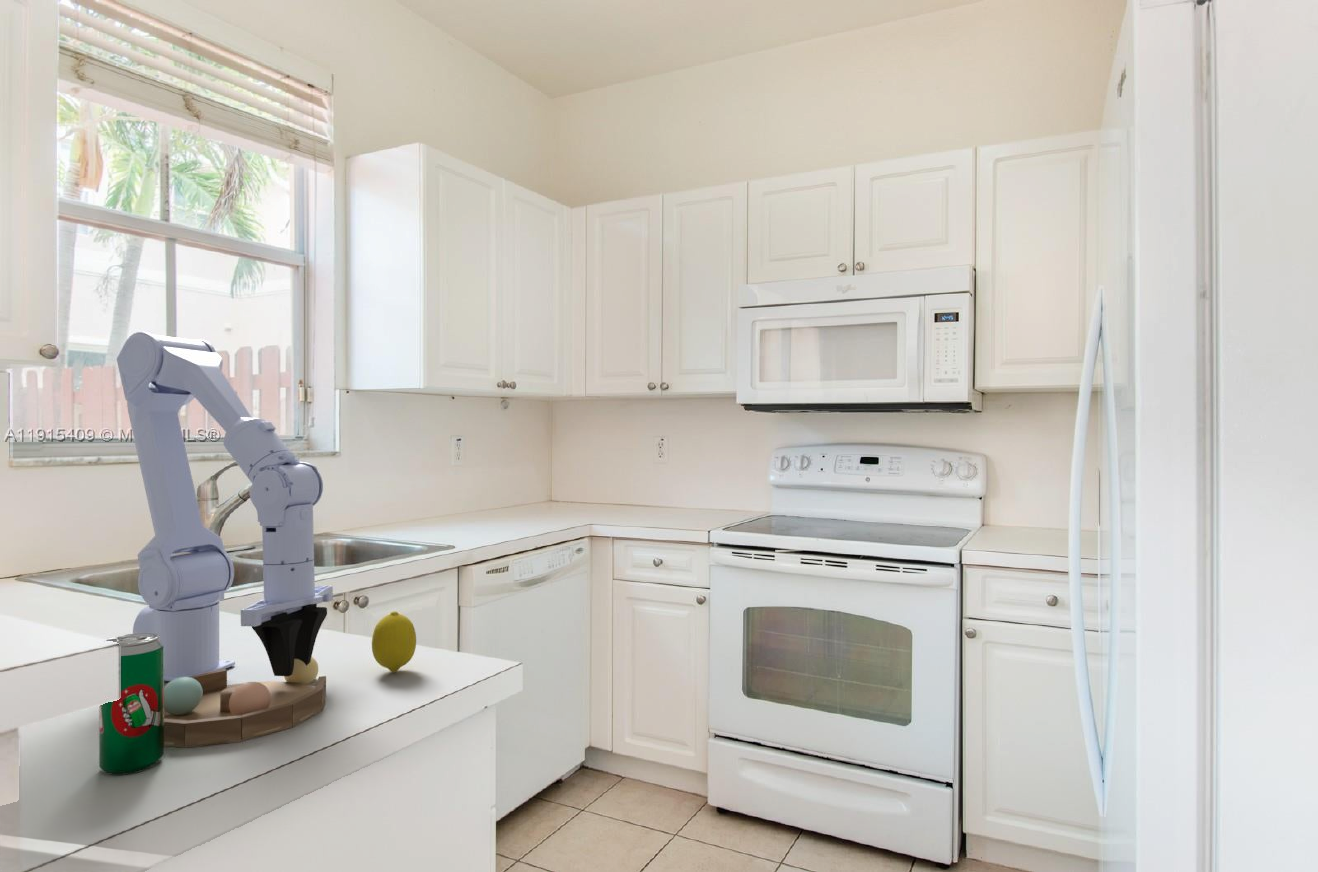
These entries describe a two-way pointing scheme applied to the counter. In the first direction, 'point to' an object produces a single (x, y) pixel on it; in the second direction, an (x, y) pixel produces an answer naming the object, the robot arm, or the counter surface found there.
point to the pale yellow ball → (303, 672)
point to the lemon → (394, 641)
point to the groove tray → (220, 726)
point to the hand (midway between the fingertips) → (291, 671)
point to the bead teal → (182, 695)
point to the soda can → (135, 708)
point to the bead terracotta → (249, 698)
